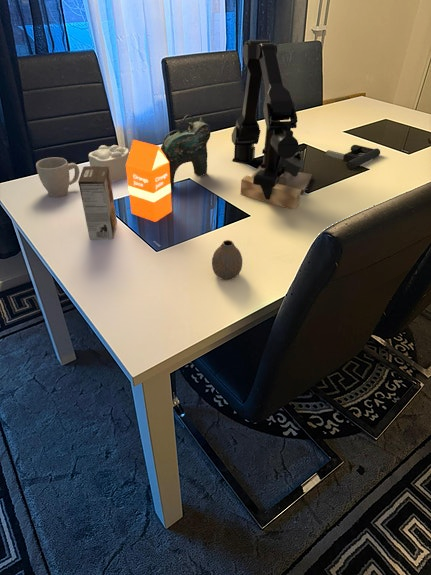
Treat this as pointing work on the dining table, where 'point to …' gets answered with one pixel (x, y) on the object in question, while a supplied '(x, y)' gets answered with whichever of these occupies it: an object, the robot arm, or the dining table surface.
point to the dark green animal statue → (187, 148)
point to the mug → (56, 175)
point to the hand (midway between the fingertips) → (269, 196)
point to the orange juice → (148, 181)
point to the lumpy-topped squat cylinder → (111, 160)
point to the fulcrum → (292, 180)
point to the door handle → (356, 156)
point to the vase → (227, 261)
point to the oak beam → (279, 194)
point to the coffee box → (98, 202)
